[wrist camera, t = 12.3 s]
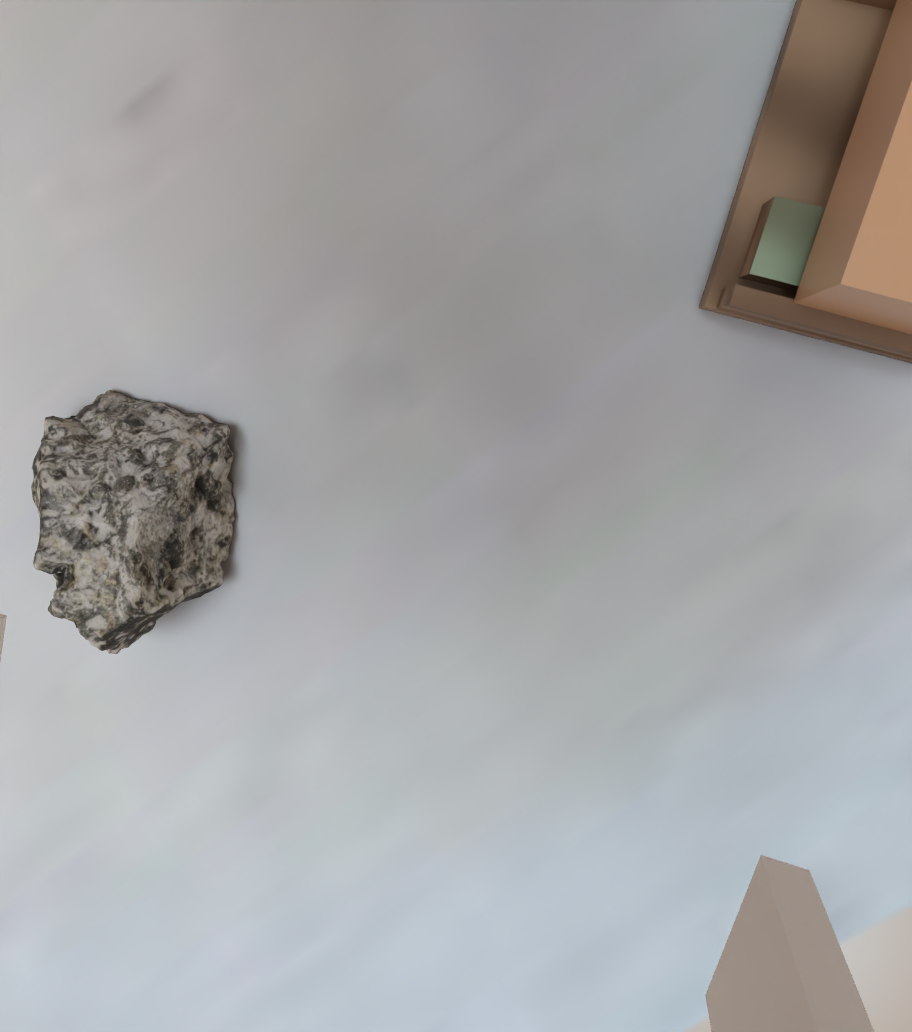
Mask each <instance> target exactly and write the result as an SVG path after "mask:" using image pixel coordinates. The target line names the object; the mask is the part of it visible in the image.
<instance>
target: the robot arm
mask: <svg viewBox="0 0 912 1032" xmlns="http://www.w3.org/2000/svg"><path fill="white" fill-rule="evenodd" d="M5 623H6V615H3V614H0V660H1V653H2V645H3V638H4V631H5ZM705 996H706V1001H707V1007H708V1013H709V1019H710V1025H711V1031H712V1032H874V1030H873V1027H872V1025H871V1023H870V1020H869V1018H868V1015H867V1013H866V1010H865V1008H864V1005H863V1002H862V1000H861V998H860V995H859V993H858V990H857V988H856V985H855V983H854V980H853V978H852V975H851V973H850V970H849V968H848V965H847V963H846V961H845V958H844V955H843V953H842V951H841V948H840V945H839V943H838V940H837V938H836V935H835V933H834V930H833V928H832V925H831V923H830V921H829V918H828V916H827V913H826V911H825V908H824V906H823V903H822V901H821V898H820V896H819V893H818V891H817V888H816V886H815V883H814V881H813V878H812V876H811V873H810V871H809V870H807V869H803V868H800V867H797V866H794V865H791V864H788V863H785V862H781V861H778V860H775V859H772V858H769V857H766V856H762V855H761V857H760V859H759V862H758V864H757V867H756V869H755V872H754V874H753V877H752V879H751V882H750V884H749V887H748V889H747V892H746V894H745V897H744V899H743V902H742V905H741V907H740V910H739V912H738V915H737V917H736V920H735V922H734V925H733V927H732V930H731V932H730V935H729V937H728V940H727V942H726V945H725V947H724V950H723V952H722V955H721V957H720V960H719V963H718V965H717V968H716V970H715V973H714V975H713V978H712V980H711V983H710V985H709V988H708V990H707V993H706V995H705Z"/></svg>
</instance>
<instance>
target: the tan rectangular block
mask: <svg viewBox="0 0 912 1032" xmlns="http://www.w3.org/2000/svg"><path fill="white" fill-rule="evenodd" d="M793 303H796V304H800V305H803V306H807V307H811V308H814V309H818V310H822V311H826V312H829V313H833V314H837V315H840V316H844V317H848V318H851V319H855V320H859V321H862V322H866V323H870V324H874V325H877V326H881V327H885V328H888V329H892V330H896V331H899V332H903V333H907V334H912V0H897V2H896V5H895V8H894V10H893V13H892V16H891V19H890V22H889V25H888V28H887V31H886V34H885V37H884V40H883V42H882V45H881V48H880V51H879V54H878V57H877V60H876V63H875V66H874V69H873V72H872V75H871V77H870V80H869V83H868V86H867V89H866V92H865V95H864V98H863V101H862V104H861V107H860V110H859V112H858V115H857V118H856V121H855V124H854V127H853V130H852V133H851V136H850V139H849V142H848V145H847V147H846V150H845V153H844V156H843V159H842V162H841V165H840V168H839V171H838V174H837V177H836V179H835V182H834V185H833V188H832V191H831V194H830V197H829V200H828V203H827V206H826V209H825V212H824V214H823V217H822V220H821V223H820V226H819V229H818V232H817V235H816V238H815V241H814V244H813V247H812V249H811V252H810V255H809V258H808V261H807V264H806V267H805V270H804V273H803V276H802V279H801V282H800V284H799V287H798V290H797V293H796V296H795V299H794V302H793Z"/></svg>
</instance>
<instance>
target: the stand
mask: <svg viewBox="0 0 912 1032" xmlns="http://www.w3.org/2000/svg"><path fill="white" fill-rule="evenodd" d="M896 2H897V0H797V1H796V4H795V8H794V11H793V14H792V17H791V20H790V23H789V26H788V30H787V33H786V36H785V39H784V42H783V45H782V48H781V52H780V55H779V58H778V61H777V64H776V67H775V70H774V74H773V77H772V80H771V83H770V86H769V89H768V92H767V96H766V99H765V102H764V105H763V108H762V111H761V114H760V118H759V121H758V124H757V127H756V130H755V133H754V136H753V140H752V143H751V146H750V149H749V152H748V155H747V158H746V162H745V165H744V168H743V171H742V174H741V177H740V180H739V184H738V187H737V190H736V193H735V196H734V199H733V202H732V206H731V209H730V212H729V215H728V218H727V221H726V224H725V228H724V231H723V234H722V237H721V240H720V243H719V246H718V250H717V253H716V256H715V259H714V262H713V265H712V268H711V272H710V275H709V278H708V281H707V284H706V287H705V290H704V294H703V297H702V300H701V303H700V306H699V308H701V309H705V310H709V311H713V312H717V313H720V314H724V315H728V316H732V317H736V318H740V319H743V320H747V321H751V322H755V323H759V324H763V325H767V326H770V327H774V328H778V329H782V330H786V331H790V332H793V333H797V334H801V335H805V336H809V337H813V338H817V339H820V340H824V341H828V342H832V343H836V344H840V345H844V346H847V347H851V348H855V349H859V350H863V351H867V352H870V353H874V354H878V355H882V356H886V357H890V358H894V359H897V360H901V361H905V362H909V363H912V334H907V333H903V332H899V331H896V330H892V329H888V328H885V327H881V326H877V325H874V324H870V323H866V322H862V321H859V320H855V319H851V318H848V317H844V316H840V315H837V314H833V313H829V312H826V311H822V310H818V309H814V308H811V307H807V306H803V305H800V304H796V303H793V302H794V299H795V296H796V293H797V290H798V287H799V284H800V282H801V279H802V276H803V273H804V270H805V267H806V264H807V261H808V258H809V255H810V252H811V249H812V247H813V244H814V241H815V238H816V235H817V232H818V229H819V226H820V223H821V220H822V217H823V214H824V212H825V209H826V206H827V203H828V200H829V197H830V194H831V191H832V188H833V185H834V182H835V179H836V177H837V174H838V171H839V168H840V165H841V162H842V159H843V156H844V153H845V150H846V147H847V145H848V142H849V139H850V136H851V133H852V130H853V127H854V124H855V121H856V118H857V115H858V112H859V110H860V107H861V104H862V101H863V98H864V95H865V92H866V89H867V86H868V83H869V80H870V77H871V75H872V72H873V69H874V66H875V63H876V60H877V57H878V54H879V51H880V48H881V45H882V42H883V40H884V37H885V34H886V31H887V28H888V25H889V22H890V19H891V16H892V13H893V10H894V8H895V5H896Z"/></svg>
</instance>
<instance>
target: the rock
mask: <svg viewBox="0 0 912 1032" xmlns="http://www.w3.org/2000/svg"><path fill="white" fill-rule="evenodd" d="M229 435H230V429H229V427H228V425H224V424H218V423H214V422H212V421H211V420H209V419H208V418H207V417H205V416H204V415H202V414H181V413H180V412H179V411H177V410H176V409H174V408H170V407H168V406H166V405H165V404H163V403H149V402H146V401H143V400H135V399H133V398H128V397H127V396H125V395H123V394H121V393H119V392H115V391H111V390H109V391H107V392H106V393H105V394H101V395H99V396H97V398H96V399H95V401H94V402H93V404H91V405H88V406H85V407H84V408H83V409H82V410H80V411H79V413H78V414H77V416H71V417H70V418H65V419H63V418H58V417H55V416H51V417H46V418H45V424H44V436H43V438H42V440H41V445H40V448H39V450H38V452H37V454H36V456H35V458H34V462H33V466H32V469H33V472H34V481H33V483H32V486H31V488H32V495H33V500H34V502H35V505H36V506H37V508H38V512H39V516H40V538H39V543H38V548H37V551H36V553H35V557H34V562H33V564H34V568H35V569H37V570H41V571H44V572H46V573H49V574H53V576H54V578H55V579H56V586H57V589H56V590H55V591H54V597H53V599H52V600H51V601H50V606H49V607H48V611H49V612H50V613H51V614H52V615H53V616H55V617H58V618H66V619H68V620H70V621H73V622H74V623H75V625H76V627H77V628H78V629H79V632H80V634H81V635H82V636H83V637H85V639H86V640H88V641H89V642H90V643H91V645H93V646H95V647H97V648H98V649H99V650H101V651H104V650H107V651H108V653H112V654H117V653H118V652H119V651H120V650H121V649H123V648H128V647H129V646H130V645H131V644H132V643H133V642H135V641H136V640H138V639H139V638H140V637H141V636H142V635H143V634H145V633H147V632H149V631H151V630H152V629H153V628H154V626H155V623H156V620H157V619H159V618H160V617H161V616H163V615H164V614H165V613H168V612H169V611H171V610H172V609H173V608H175V607H176V606H177V605H178V604H180V603H181V602H184V601H188V600H191V599H194V598H198V597H201V596H202V595H203V594H205V593H208V592H210V591H212V590H214V589H216V588H218V587H219V586H221V585H222V584H223V578H224V571H223V569H222V567H221V566H220V565H221V562H222V561H225V560H226V559H227V558H228V556H229V546H230V544H231V541H232V533H233V527H232V523H233V521H234V519H235V518H234V515H233V512H234V503H235V502H234V499H233V496H232V494H231V488H232V483H231V481H230V480H229V479H228V478H227V476H228V473H229V471H230V468H231V463H232V461H233V459H234V456H233V452H231V451H230V449H229V446H228V444H227V439H228V438H229Z"/></svg>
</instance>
